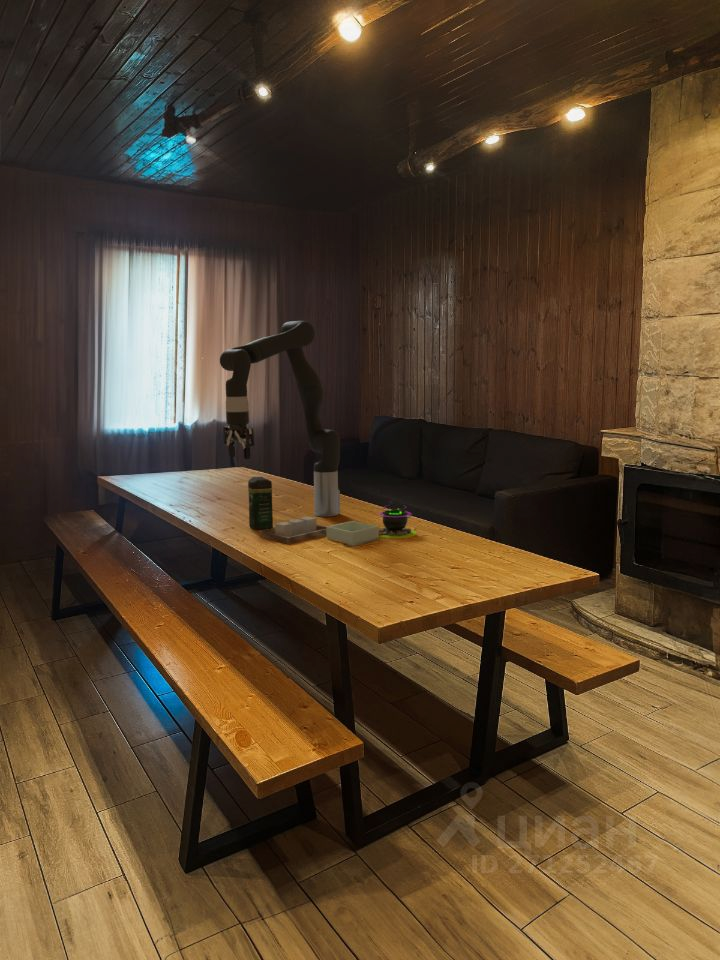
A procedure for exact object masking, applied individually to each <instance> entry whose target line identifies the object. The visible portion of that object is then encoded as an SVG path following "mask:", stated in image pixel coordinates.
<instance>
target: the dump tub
mask: <svg viewBox="0 0 720 960" xmlns="http://www.w3.org/2000/svg"><path fill="white" fill-rule="evenodd" d="M326 527H327V535H326V539H327V540H331V541H336V542H339V543H343V544H344V545H346V546H349V547H356V546H360V545H363V544H367V543H371V542H375V541H378V540H379V538H380V537H379V526H378V525H375V524H370V523H364V522H360V521H354V520H350V521H349V520H348V521H346V522H342V523H336V524H333V525H327V526H326Z"/></svg>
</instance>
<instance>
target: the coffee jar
mask: <svg viewBox="0 0 720 960" xmlns="http://www.w3.org/2000/svg"><path fill="white" fill-rule="evenodd" d="M247 481H248V482H247V484H248V485H247V487H248V488H247V489H248V526H249V527H250V529H252V530H255V531H263V530H267V529H272V528H274V520H273V518H274V517H273V483H272V481H271V480H270V479H268V478H266V477H263V476H252V477H250V478H249V480H247Z"/></svg>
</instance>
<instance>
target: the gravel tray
mask: <svg viewBox="0 0 720 960" xmlns="http://www.w3.org/2000/svg"><path fill="white" fill-rule="evenodd" d="M324 536H327V526H325V525H320V524H316V531H313V532H309V533H305V534H300V535H296V536H292V537H285V536H281V535H277V534H275V527H273V528H271V529H266V530H259V537H260V538H263V539H267V540H270V541H274V542H279V543H283V544H286V545H290V544H295V543H299V542H303V541H307V540H312V539H315V538H320V537H324Z"/></svg>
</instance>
